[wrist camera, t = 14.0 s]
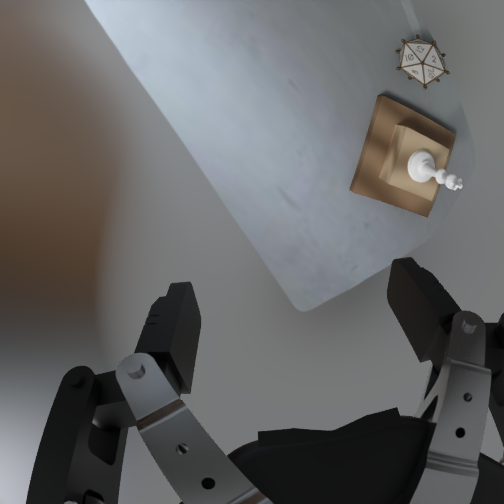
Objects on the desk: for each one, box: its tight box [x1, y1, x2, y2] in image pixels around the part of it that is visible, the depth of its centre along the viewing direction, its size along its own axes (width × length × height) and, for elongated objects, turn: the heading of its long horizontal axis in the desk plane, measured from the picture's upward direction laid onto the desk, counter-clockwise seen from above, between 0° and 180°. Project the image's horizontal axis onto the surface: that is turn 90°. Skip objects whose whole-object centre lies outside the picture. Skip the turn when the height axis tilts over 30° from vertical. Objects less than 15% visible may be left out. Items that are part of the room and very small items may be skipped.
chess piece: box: [408, 150, 463, 190], centre depth 31 cm, size 5×5×10 cm
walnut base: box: [350, 95, 456, 218], centre depth 37 cm, size 16×16×5 cm
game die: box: [396, 34, 450, 90], centre depth 28 cm, size 9×8×10 cm
